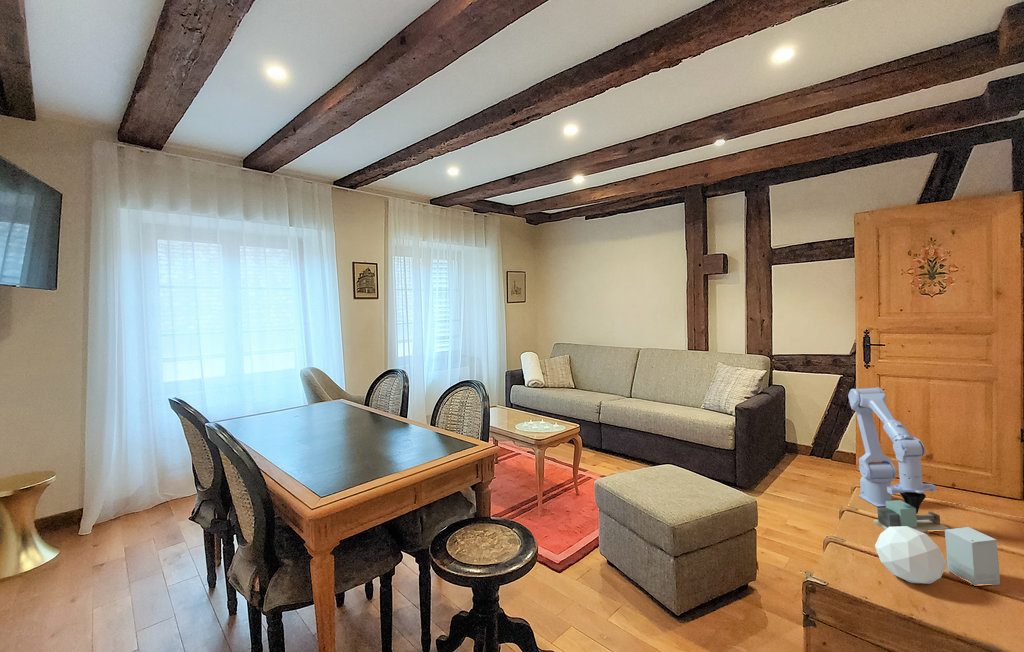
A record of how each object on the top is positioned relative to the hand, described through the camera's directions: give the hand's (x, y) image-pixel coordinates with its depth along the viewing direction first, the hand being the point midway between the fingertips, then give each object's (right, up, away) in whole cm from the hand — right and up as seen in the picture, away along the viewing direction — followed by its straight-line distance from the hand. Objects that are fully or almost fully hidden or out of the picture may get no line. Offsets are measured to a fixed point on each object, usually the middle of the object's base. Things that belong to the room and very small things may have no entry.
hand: (913, 512), depth 144 cm
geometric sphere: (-24, -8, -24) cm, 35 cm away
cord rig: (-1, -5, 0) cm, 5 cm away
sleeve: (-4, -4, 0) cm, 5 cm away
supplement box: (-8, -7, -26) cm, 28 cm away
